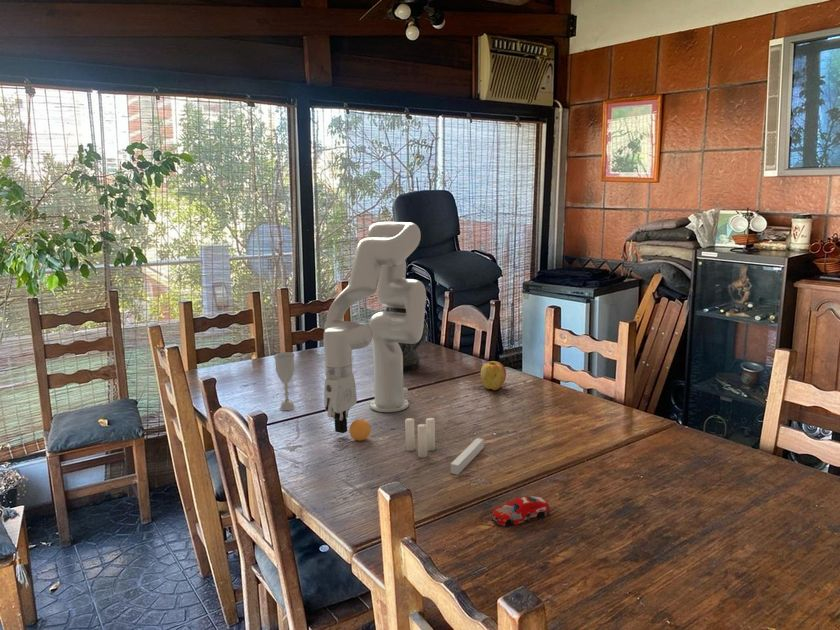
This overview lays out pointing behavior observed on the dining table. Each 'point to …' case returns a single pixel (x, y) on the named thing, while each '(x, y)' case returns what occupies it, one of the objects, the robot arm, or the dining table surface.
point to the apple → (493, 375)
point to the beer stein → (411, 347)
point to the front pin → (409, 434)
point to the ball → (360, 429)
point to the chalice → (285, 375)
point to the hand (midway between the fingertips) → (341, 431)
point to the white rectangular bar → (467, 456)
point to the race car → (521, 511)
